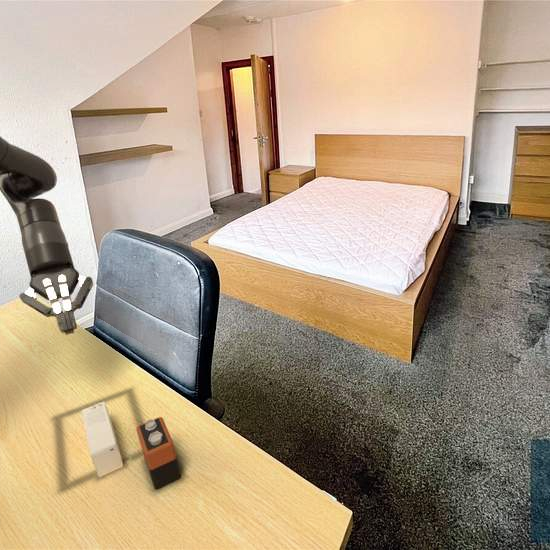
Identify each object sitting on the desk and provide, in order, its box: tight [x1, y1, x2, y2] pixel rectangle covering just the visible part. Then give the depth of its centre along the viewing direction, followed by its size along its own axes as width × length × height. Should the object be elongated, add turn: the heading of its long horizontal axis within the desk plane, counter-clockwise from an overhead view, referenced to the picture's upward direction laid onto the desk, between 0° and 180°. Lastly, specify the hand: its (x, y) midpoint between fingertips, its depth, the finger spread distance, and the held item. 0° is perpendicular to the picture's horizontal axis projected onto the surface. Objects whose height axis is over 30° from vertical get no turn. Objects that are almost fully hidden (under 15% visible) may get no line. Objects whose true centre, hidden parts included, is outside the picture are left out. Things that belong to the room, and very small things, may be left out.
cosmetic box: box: [81, 401, 124, 478], centre depth 72 cm, size 6×4×12 cm
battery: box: [136, 416, 182, 491], centre depth 66 cm, size 4×7×10 cm, turn 29°
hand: (69, 332), depth 74 cm, fingers closed
